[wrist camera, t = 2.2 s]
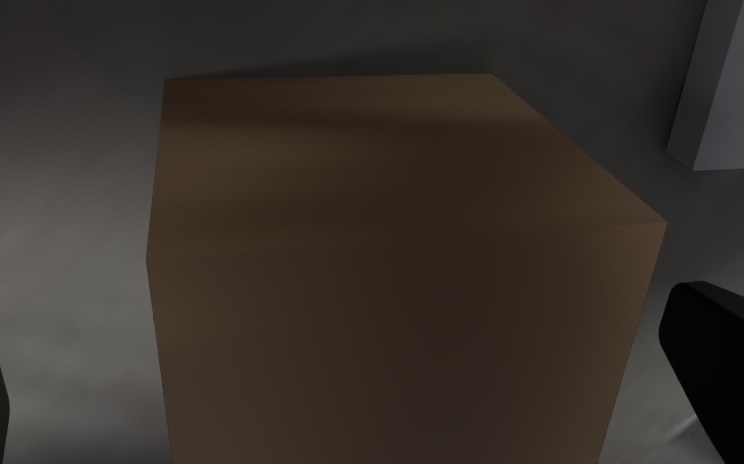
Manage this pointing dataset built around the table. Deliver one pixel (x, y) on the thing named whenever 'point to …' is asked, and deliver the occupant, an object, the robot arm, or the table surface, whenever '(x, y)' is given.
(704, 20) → the slate coaster
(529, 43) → the table surface
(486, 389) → the walnut cube
